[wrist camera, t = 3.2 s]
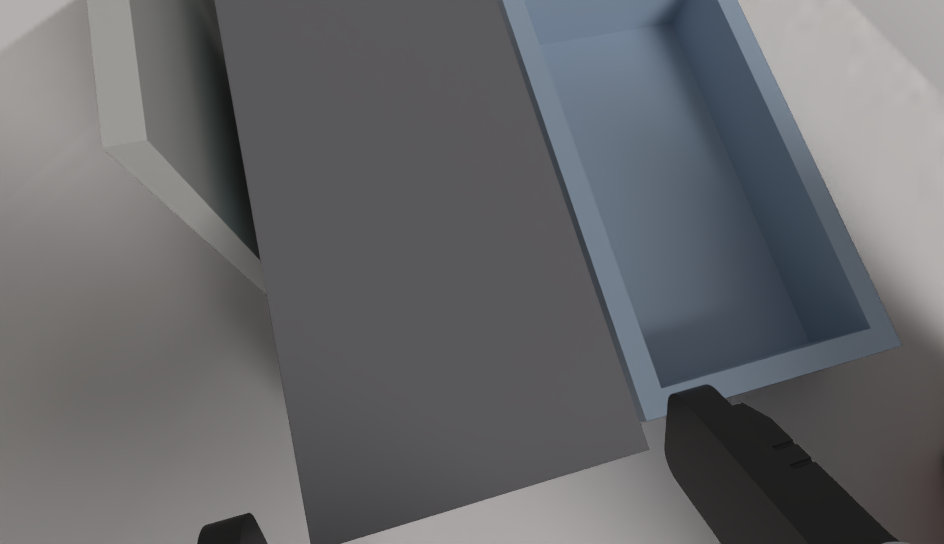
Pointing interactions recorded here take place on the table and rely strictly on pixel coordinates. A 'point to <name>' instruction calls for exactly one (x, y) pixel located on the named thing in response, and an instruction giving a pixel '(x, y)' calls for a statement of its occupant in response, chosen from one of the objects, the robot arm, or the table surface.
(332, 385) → the teal-striped grey block
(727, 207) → the tray
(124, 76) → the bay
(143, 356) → the table surface
